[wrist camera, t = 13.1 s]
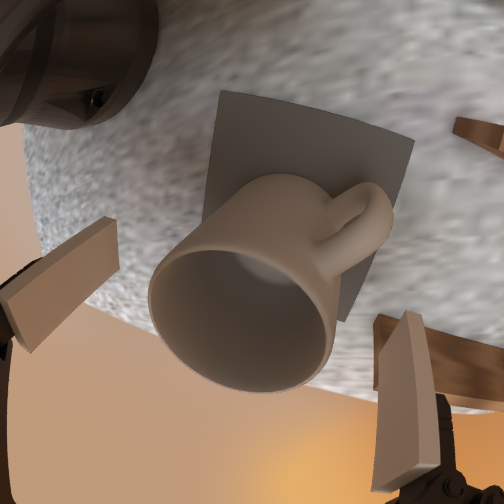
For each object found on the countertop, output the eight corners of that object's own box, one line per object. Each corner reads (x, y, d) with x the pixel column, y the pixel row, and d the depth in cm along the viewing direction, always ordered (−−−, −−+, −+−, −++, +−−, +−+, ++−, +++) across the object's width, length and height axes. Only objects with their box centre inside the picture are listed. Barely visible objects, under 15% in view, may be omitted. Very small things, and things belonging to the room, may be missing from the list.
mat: (198, 272, 26) (196, 274, 26) (222, 90, 19) (220, 90, 18) (344, 319, 24) (344, 322, 24) (413, 140, 17) (414, 140, 16)
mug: (275, 298, 25) (229, 408, 15) (206, 216, 23) (116, 298, 14) (408, 222, 19) (450, 329, 9) (336, 115, 17) (325, 126, 8)
